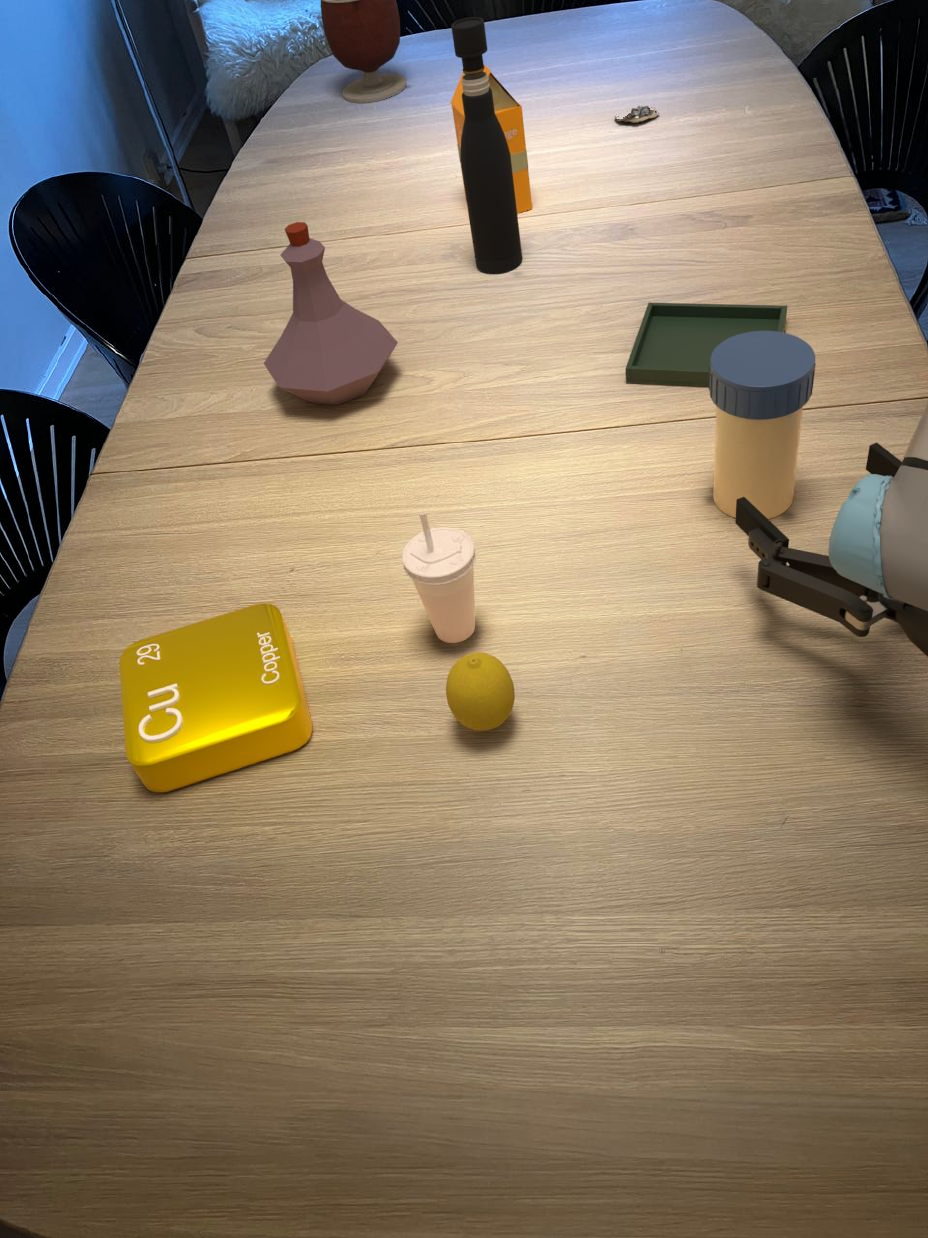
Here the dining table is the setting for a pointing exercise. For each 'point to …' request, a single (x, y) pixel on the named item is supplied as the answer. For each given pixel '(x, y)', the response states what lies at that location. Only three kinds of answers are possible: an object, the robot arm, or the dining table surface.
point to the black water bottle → (485, 159)
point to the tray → (692, 339)
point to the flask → (324, 333)
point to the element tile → (212, 698)
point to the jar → (756, 462)
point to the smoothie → (444, 578)
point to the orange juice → (512, 128)
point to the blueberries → (639, 114)
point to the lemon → (480, 691)
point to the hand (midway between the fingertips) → (805, 482)
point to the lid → (761, 375)
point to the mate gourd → (364, 44)
